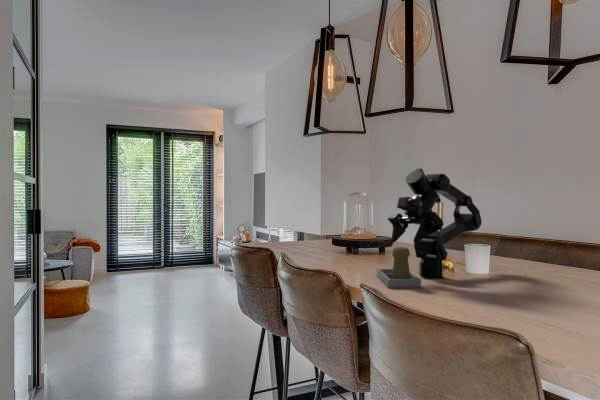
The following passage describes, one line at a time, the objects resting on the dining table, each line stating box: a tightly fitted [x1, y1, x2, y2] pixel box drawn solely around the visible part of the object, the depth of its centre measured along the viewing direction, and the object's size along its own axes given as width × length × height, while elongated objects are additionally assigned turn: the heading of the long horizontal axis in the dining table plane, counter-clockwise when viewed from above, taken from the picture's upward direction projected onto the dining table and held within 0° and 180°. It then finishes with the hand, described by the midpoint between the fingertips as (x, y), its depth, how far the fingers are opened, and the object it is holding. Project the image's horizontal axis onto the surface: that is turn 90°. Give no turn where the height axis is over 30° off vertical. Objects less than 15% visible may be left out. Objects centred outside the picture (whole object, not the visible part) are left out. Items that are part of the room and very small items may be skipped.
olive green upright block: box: [391, 246, 411, 279], centre depth 128 cm, size 6×6×11 cm
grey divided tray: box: [376, 268, 422, 289], centre depth 132 cm, size 10×18×2 cm, turn 0°
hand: (403, 242), depth 131 cm, fingers open, 9 cm apart
